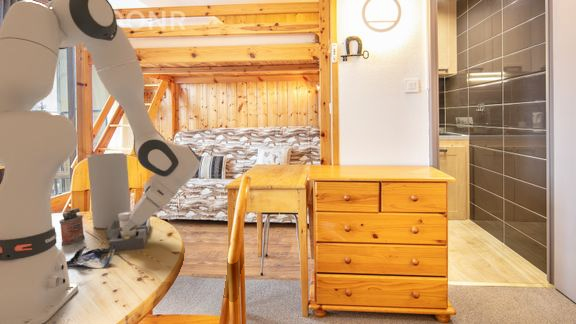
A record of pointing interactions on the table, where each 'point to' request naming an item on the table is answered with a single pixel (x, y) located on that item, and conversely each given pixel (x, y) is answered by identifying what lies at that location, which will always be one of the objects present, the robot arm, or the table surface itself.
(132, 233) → the ball
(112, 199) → the cylinder vase
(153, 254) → the table surface
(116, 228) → the tray
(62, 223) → the lighter
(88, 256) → the snack package
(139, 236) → the block
